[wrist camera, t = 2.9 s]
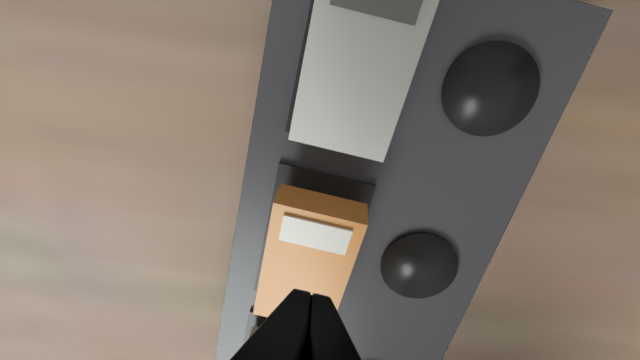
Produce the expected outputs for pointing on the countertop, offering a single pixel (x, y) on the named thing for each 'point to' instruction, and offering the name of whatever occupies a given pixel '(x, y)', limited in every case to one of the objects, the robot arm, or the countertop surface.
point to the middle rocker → (309, 246)
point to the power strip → (416, 166)
